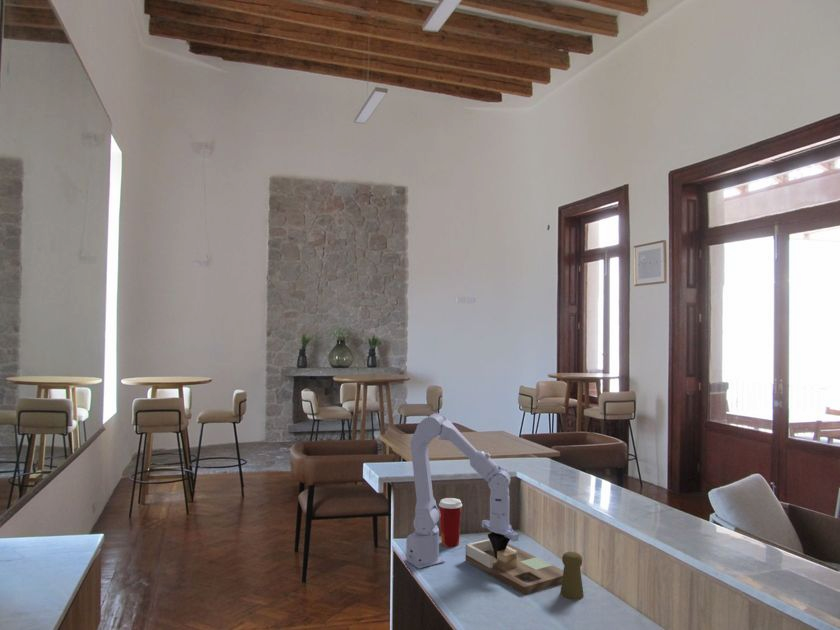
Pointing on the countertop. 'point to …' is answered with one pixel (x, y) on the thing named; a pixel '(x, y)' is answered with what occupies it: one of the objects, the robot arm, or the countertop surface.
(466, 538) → the countertop surface
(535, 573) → the board
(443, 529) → the paper cup
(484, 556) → the cubby
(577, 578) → the cork
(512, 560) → the block
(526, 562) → the pad
